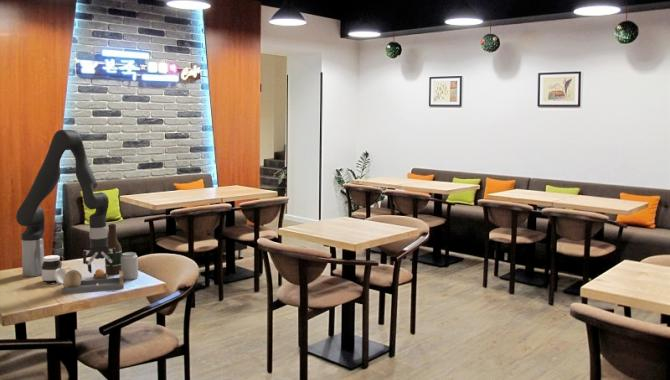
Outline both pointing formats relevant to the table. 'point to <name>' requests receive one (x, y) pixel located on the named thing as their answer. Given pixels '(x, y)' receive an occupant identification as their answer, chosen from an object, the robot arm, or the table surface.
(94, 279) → the tee
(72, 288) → the lane
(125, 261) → the can
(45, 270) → the spread jar
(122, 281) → the backstop
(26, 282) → the table surface
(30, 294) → the table surface
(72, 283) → the log
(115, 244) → the beer bottle
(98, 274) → the ball
